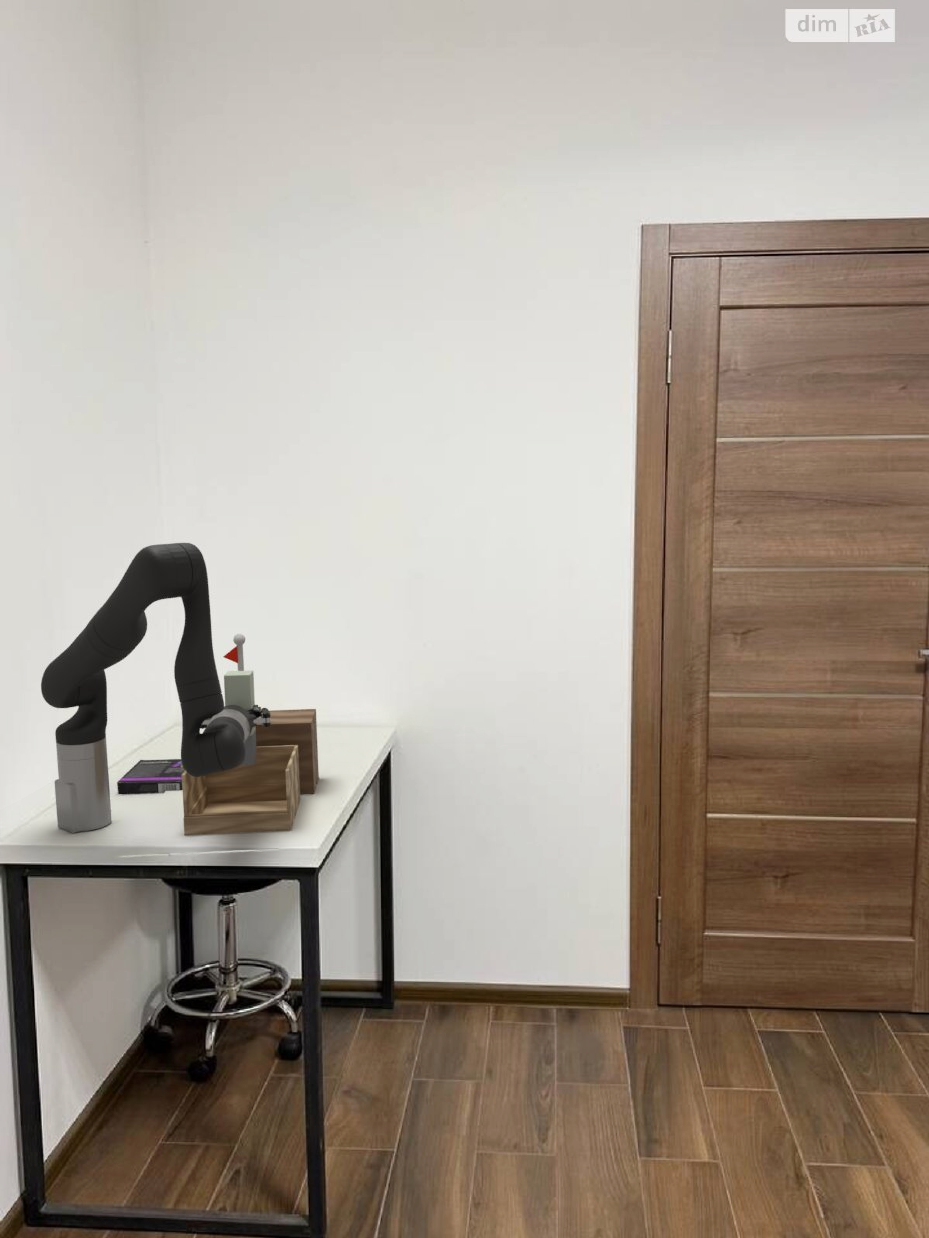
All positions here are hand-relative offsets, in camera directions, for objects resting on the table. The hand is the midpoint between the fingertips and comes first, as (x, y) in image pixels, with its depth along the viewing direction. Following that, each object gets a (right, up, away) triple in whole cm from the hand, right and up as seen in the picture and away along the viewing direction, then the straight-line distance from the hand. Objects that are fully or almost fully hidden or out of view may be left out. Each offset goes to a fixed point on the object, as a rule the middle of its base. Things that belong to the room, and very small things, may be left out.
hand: (242, 710), depth 205 cm
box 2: (0, -10, -1) cm, 10 cm away
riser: (+5, -19, +20) cm, 28 cm away
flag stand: (-11, -15, +53) cm, 57 cm away
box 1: (-25, -19, +28) cm, 42 cm away
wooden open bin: (+1, -22, 0) cm, 22 cm away
